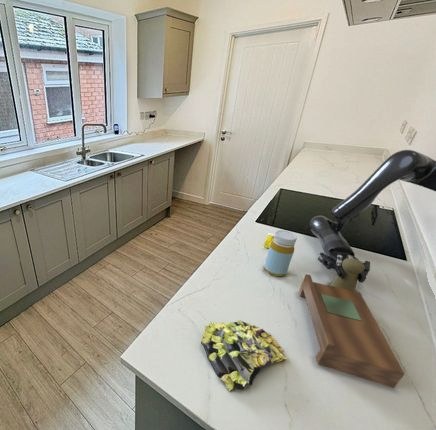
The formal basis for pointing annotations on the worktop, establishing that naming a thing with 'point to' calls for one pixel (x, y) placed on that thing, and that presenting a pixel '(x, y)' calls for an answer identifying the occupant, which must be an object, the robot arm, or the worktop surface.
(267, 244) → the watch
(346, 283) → the olive knobbed peg
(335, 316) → the shelf
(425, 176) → the robot arm
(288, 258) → the bottle
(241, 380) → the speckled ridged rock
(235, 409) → the worktop surface
